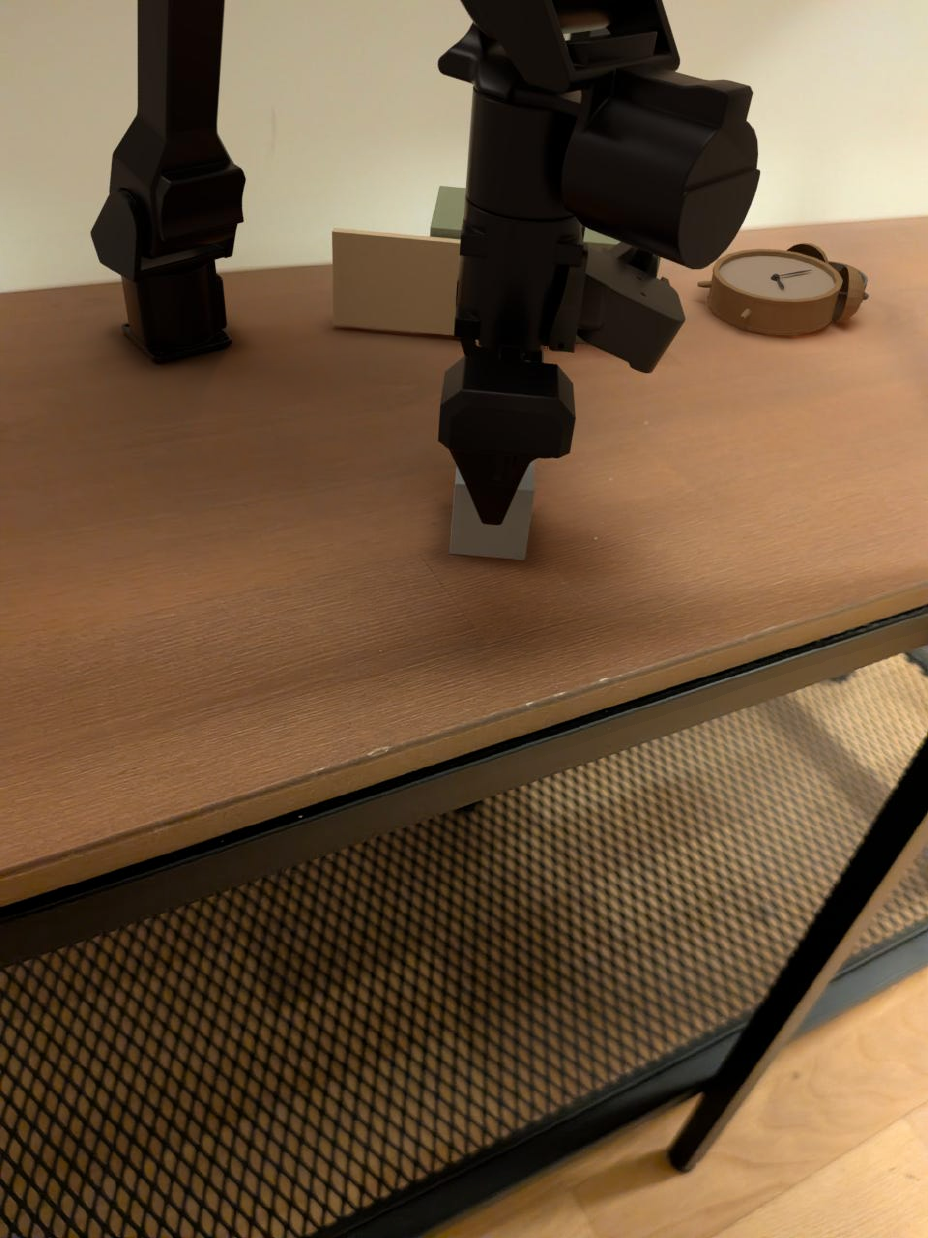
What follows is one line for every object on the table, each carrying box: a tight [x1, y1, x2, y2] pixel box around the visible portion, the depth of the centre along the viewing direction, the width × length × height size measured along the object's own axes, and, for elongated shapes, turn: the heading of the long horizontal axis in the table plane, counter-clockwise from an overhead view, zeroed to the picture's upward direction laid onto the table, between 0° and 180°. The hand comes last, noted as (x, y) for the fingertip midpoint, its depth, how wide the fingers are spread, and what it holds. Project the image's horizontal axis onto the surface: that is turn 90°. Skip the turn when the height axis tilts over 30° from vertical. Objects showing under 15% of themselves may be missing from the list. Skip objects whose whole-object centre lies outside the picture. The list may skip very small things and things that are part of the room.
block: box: [449, 460, 536, 561], centre depth 57 cm, size 4×4×5 cm
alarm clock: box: [697, 242, 870, 336], centre depth 87 cm, size 11×5×15 cm
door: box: [331, 227, 461, 336], centre depth 74 cm, size 17×6×8 cm, turn 87°
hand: (493, 477), depth 56 cm, fingers open, 9 cm apart
